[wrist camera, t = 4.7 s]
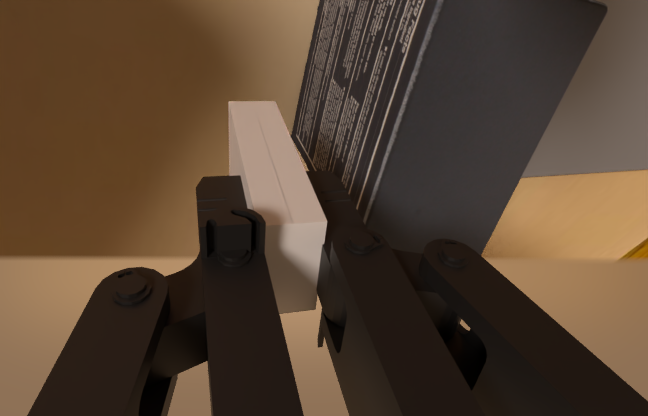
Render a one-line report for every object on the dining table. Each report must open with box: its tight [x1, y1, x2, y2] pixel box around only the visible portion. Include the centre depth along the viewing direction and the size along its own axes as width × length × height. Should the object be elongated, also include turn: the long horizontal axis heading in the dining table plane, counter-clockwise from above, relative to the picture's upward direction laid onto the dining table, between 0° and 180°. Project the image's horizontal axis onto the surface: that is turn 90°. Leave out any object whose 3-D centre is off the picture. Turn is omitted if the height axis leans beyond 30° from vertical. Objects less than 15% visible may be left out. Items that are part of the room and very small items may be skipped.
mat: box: [521, 0, 648, 178], centre depth 28 cm, size 19×16×1 cm
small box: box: [291, 0, 608, 256], centre depth 20 cm, size 11×6×10 cm, turn 166°
